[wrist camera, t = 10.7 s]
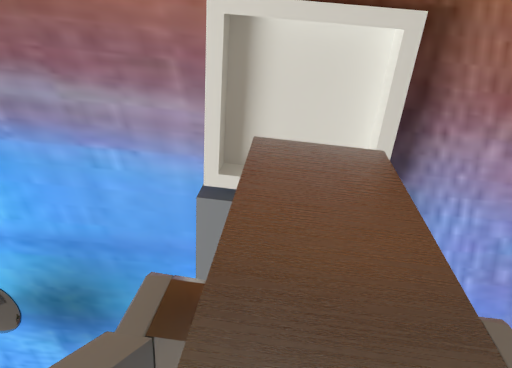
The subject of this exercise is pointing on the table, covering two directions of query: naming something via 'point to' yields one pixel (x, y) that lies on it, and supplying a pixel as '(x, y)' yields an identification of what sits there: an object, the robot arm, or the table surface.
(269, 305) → the pin
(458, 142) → the table surface
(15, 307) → the wine glass
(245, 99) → the tray
